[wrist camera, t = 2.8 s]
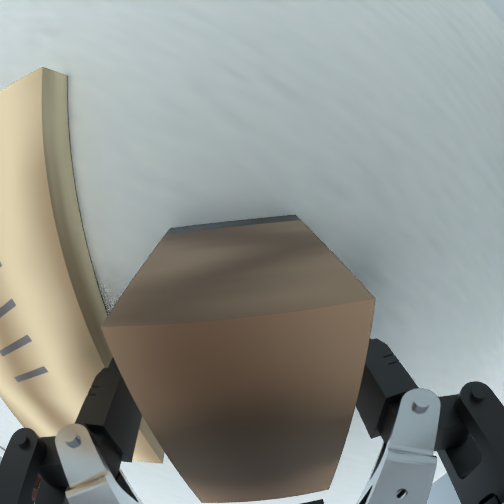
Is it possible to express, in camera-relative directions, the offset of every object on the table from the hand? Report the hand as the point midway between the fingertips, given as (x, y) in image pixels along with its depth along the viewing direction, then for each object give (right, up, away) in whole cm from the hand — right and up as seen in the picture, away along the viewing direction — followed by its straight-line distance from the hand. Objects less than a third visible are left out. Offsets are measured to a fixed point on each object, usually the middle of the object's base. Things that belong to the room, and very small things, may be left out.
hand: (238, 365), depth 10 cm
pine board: (-12, +1, +2) cm, 13 cm away
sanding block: (0, +1, +3) cm, 3 cm away
